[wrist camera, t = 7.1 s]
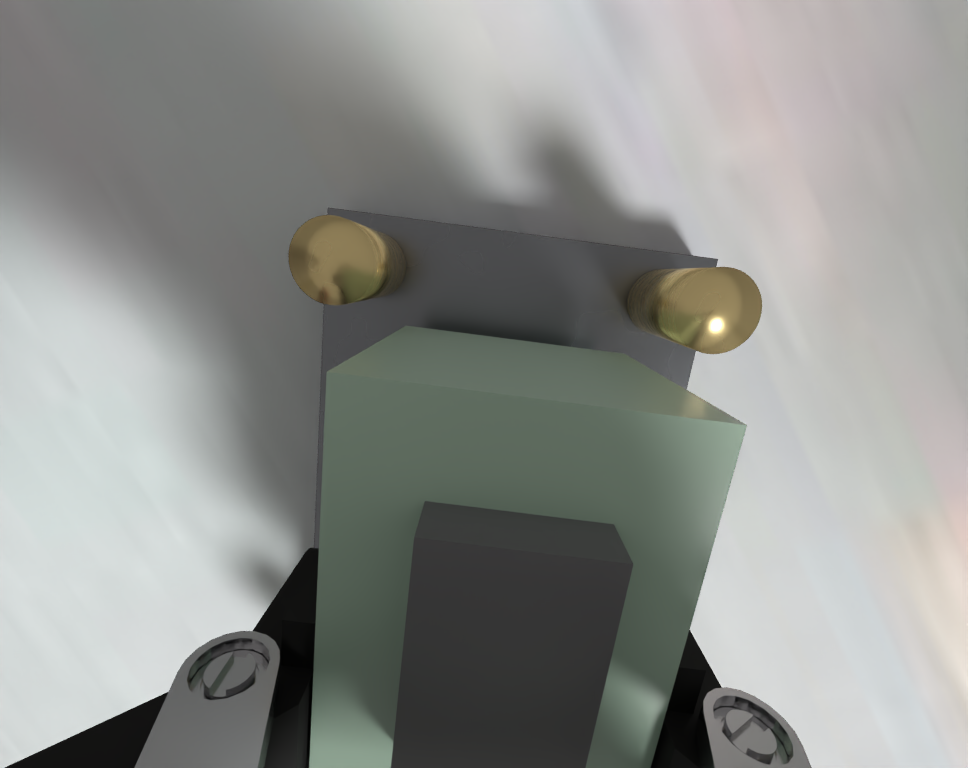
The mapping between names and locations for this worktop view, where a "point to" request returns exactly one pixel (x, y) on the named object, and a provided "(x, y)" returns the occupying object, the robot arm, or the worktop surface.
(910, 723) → the worktop surface
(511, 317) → the chassis
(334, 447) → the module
